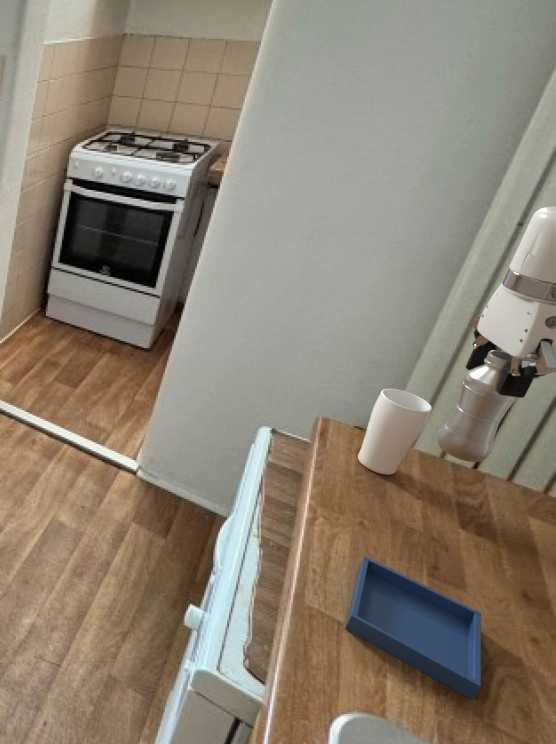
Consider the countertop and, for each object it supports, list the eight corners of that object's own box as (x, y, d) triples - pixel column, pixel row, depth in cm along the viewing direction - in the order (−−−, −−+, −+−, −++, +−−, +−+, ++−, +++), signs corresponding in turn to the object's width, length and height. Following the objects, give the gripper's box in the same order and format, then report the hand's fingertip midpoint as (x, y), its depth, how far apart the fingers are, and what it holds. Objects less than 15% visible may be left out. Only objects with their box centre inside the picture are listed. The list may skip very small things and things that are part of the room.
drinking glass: (342, 452, 114) (370, 387, 109) (378, 453, 114) (408, 388, 109) (372, 478, 108) (404, 411, 103) (410, 480, 108) (444, 412, 102)
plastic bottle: (489, 457, 104) (538, 358, 97) (480, 473, 100) (530, 372, 93) (438, 436, 109) (481, 341, 102) (427, 451, 105) (472, 353, 98)
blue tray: (358, 567, 91) (364, 555, 90) (473, 625, 83) (481, 612, 82) (344, 628, 82) (351, 615, 81) (472, 700, 74) (480, 686, 73)
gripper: (624, 315, 84) (566, 419, 91) (526, 266, 100) (483, 358, 106) (555, 308, 86) (503, 410, 93) (470, 261, 102) (431, 351, 108)
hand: (493, 381), depth 99 cm, fingers closed on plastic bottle, 6 cm apart
